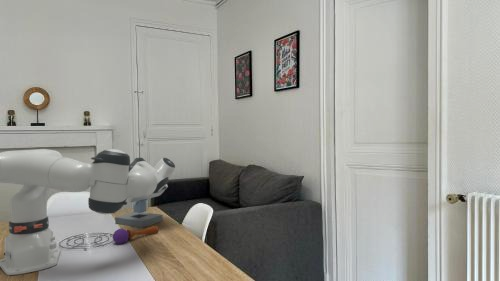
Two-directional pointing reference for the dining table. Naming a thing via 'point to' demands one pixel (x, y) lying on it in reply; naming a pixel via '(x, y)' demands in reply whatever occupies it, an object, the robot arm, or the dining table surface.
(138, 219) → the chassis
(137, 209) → the servo
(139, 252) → the dining table surface
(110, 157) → the robot arm
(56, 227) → the dining table surface
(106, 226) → the dining table surface
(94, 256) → the dining table surface
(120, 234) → the purple maraca
